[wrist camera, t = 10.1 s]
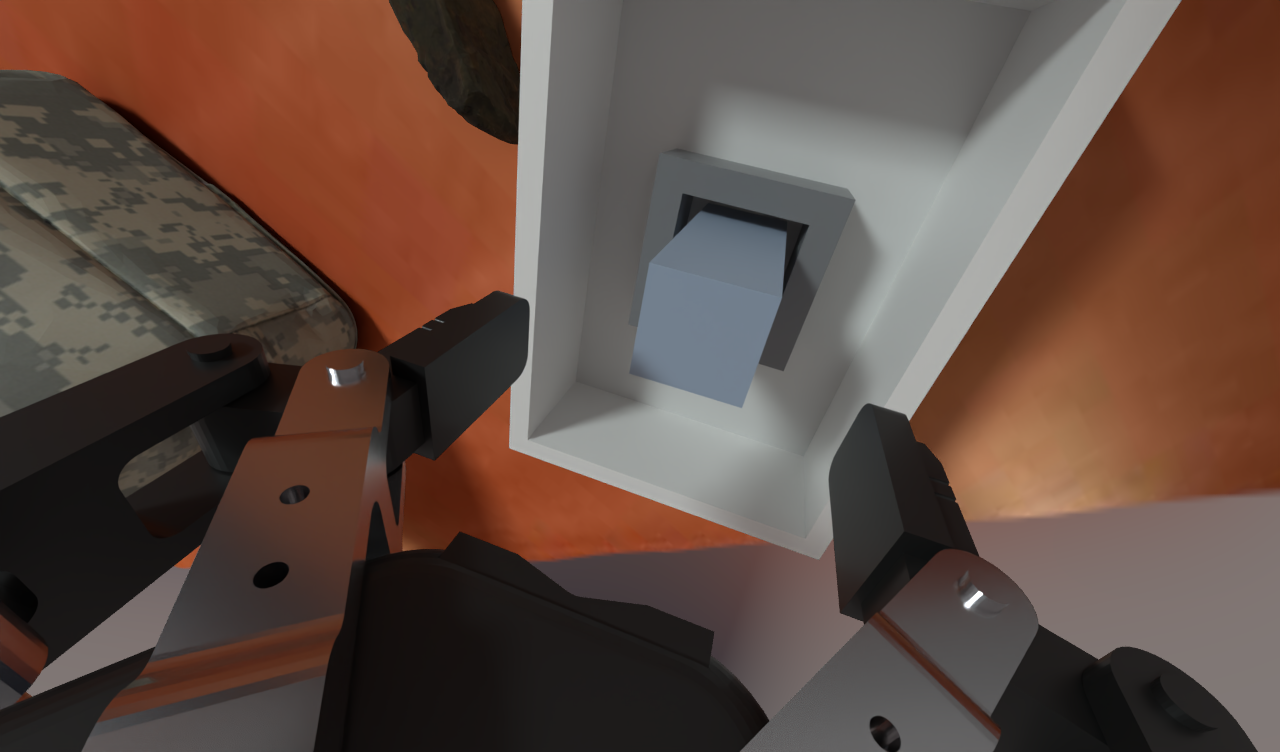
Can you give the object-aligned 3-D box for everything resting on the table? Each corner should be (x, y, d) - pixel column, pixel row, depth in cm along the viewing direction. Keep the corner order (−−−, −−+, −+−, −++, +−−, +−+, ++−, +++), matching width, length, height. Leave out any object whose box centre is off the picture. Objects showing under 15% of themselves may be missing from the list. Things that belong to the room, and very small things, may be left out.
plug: (708, 203, 20) (649, 262, 12) (787, 221, 20) (782, 297, 12) (690, 277, 22) (629, 373, 14) (762, 296, 22) (742, 408, 14)
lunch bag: (62, 234, 37) (-646, 348, 19) (49, 19, 27) (-1446, -173, 9) (322, 445, 41) (-54, 708, 23) (392, 325, 31) (-166, 615, 13)
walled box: (617, -87, 17) (528, -190, 11) (1070, -16, 15) (1247, -101, 9) (566, 381, 29) (509, 448, 23) (813, 463, 27) (819, 560, 21)
